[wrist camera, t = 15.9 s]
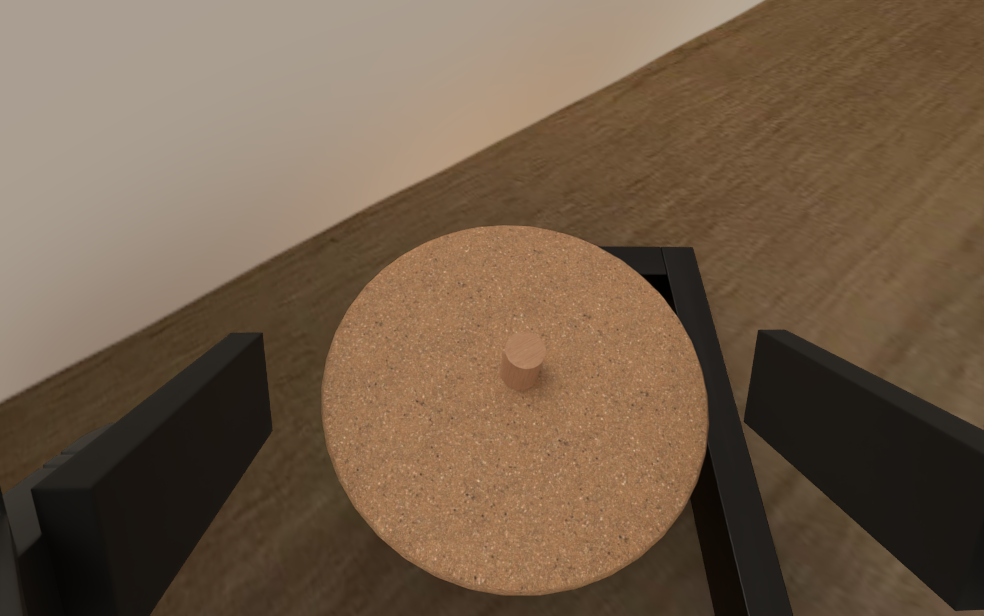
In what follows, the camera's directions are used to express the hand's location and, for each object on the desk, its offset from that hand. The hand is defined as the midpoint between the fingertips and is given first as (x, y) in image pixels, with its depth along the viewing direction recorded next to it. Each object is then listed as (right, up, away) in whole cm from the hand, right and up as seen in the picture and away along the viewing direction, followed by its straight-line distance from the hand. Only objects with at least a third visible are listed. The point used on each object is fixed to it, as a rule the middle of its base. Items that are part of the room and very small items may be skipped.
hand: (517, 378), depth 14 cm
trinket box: (0, -4, +7) cm, 8 cm away
